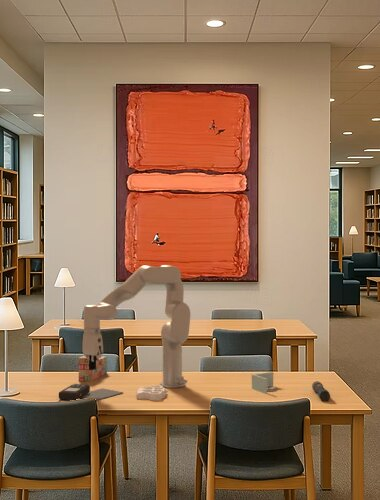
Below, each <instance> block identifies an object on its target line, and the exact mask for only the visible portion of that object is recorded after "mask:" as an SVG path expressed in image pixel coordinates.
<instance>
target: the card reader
mask: <svg viewBox="0 0 380 500" xmlns="http://www.w3.org/2000/svg"><path fill="white" fill-rule="evenodd" d="M90 391H91V387H90V385H89V384H84V383H83V384H81V383H73V384H71V385H69V386H67V387H66V388H64V389H62V390H60V391H58V400H62V401H72V400H75V399H78V400H79V399H81V397H83V396H84V395H86V394H87V393H89V392H90Z"/></svg>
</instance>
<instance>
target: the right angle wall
mask: <svg viewBox="0 0 380 500" xmlns="http://www.w3.org/2000/svg"><path fill="white" fill-rule="evenodd" d="M276 389H277V388H276V386H274V371H268V372H262V373H261V372H260V373H252V374H251V390H255V391H257V392H260V393H263V394H268V392H275V391H276Z"/></svg>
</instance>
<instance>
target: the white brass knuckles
mask: <svg viewBox="0 0 380 500" xmlns="http://www.w3.org/2000/svg"><path fill="white" fill-rule="evenodd" d="M168 392H169V391H168V390H166V387H163V386H161V385H160V384H156V385H155V384H154V385H150V386H141V387H139V388H137V391H136V394H135V397H136V399H139V400H143V399H144V400H145V399H147V400H150V401H161V400H162V399H164V398H165V397H166V396H168Z"/></svg>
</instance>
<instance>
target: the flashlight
mask: <svg viewBox="0 0 380 500" xmlns="http://www.w3.org/2000/svg"><path fill="white" fill-rule="evenodd" d="M311 388H312V390H313V391H314V392H315V394H317V395H318V398H319V399H320V401H322V402H328V401H329V400H330V399H331V394H330V391H328V390H327V389H326V388H325V387H324V385H323V384H322V382H320V381H314V382H313V383H312V384H311Z"/></svg>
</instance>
